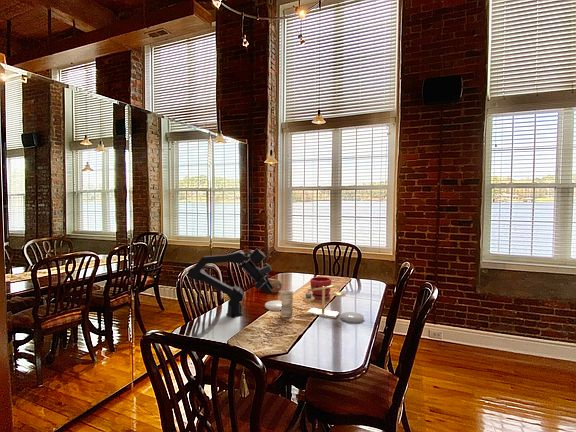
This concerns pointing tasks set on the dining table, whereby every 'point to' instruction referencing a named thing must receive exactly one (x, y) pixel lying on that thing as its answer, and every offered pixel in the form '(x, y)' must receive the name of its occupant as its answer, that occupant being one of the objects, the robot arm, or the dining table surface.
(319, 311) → the brass balance
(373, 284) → the dining table surface
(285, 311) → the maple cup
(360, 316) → the slate dish
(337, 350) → the dining table surface
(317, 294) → the plant pot
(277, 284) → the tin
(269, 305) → the cream dish
